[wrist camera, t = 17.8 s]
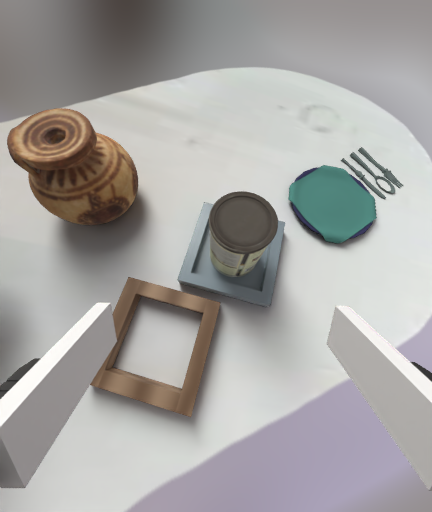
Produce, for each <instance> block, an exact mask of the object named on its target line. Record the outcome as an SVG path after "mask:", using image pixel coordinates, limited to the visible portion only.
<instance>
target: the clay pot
mask: <svg viewBox="0 0 432 512" xmlns="http://www.w3.org/2000/svg"><path fill="white" fill-rule="evenodd" d="M7 145H8V149H9V153H10V155H11V157H12V159H13V160H14V162H15V163H16V164H18V165H19V166H20V167H22V168H23V169H25V170H26V171H27V172H29V184H30V187H31V190H32V192H33V194H34V196H35V197H36V199H37V200H38V201H39V202H40V204H41V205H42V206H44V207H45V208H46V209H47V210H48V211H49V212H51V213H52V214H54V215H56V216H58V217H60V218H62V219H64V220H67V221H69V222H72V223H77V224H83V225H97V224H103V223H107V222H110V221H112V220H114V219H116V218H118V217H119V216H121V215H122V214H123V213H125V212H126V211H127V210H128V208H129V207H130V206H131V205H132V203H133V201H134V199H135V197H136V194H137V189H138V176H137V170H136V167H135V165H134V162H133V160H132V159H131V157H130V156H129V154H128V153H127V152H126V151H125V149H124V148H123V147H122V146H121V145H120V144H118V143H117V142H116V141H114V140H113V139H111V138H109V137H107V136H105V135H102V134H99V133H96V132H95V131H94V129H93V127H92V125H91V123H90V121H89V120H88V119H87V118H86V117H85V116H84V115H83V114H81V113H80V112H77V111H74V110H71V109H52V110H45V111H42V112H39V113H37V114H34V115H32V116H30V117H28V118H27V119H25V120H24V121H23V122H22V123H21V124H19V125H18V126H17V127H15V128H13V129H12V130H11V131H10V133H9V135H8V139H7Z"/></svg>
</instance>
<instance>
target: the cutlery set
mask: <svg viewBox="0 0 432 512" xmlns="http://www.w3.org/2000/svg"><path fill="white" fill-rule="evenodd" d="M358 151H359V152H360V153H362V154H363V155H364V156H365V157H366V158H367V159H368V160H369V161H370V162H371V163H373V164H374V165H375V166H376V167H377V168H379V169H380V170H382V171H383V172H382V173H384V176H385V177H386V178H387V179H388V180H390V181H391V182H392V183H393V184H395V185H396V186H397V187H398V188H400V187H402V186H403V185H402V184H401V183H400V182H399V181H398V180H397V179H396V178H395V176H394V175H393V174H392V173H391V171H388V169H385V168H383V167H382V166H381V165H379V164H378V163H377V162H376V161H375V160H374V159H373V158H372V157H371V156H370V155H369V154H368V153H367V152H366V151H365V150H364V149H363V148H362V147H361V148H360V149H359V150H358ZM350 156H351V157H353V158H354V159H355V160H356V161H358V162H359V163H360V164H361V165H362V166H363V167H364V168H365V169H366V170H367V171H368V172H369V173H371V175H372V176H373V177H374V178H375V179H376V183H377V179H382V180H384V181H386V182H387V183H388V184H389V185H390V187H391V191H387V192H391V193H394V192H395V188H394V186H393V185H392V184H391V183H390V181H388V180H387V179H385V178H384V177H380V176H376V175H375V174H374V173H373V172H372V171H371V170H370V169H369V168H368V166H367V165H366V164H365V163H364V162H363V161H362V160H361V159H360V158H359V157H358V156H357V155H356V154H355V153H354V152H353V153H351V155H350ZM341 161H344V162H345V163H346V164H347V165H348V166H350V167H351V168H352V169H353V170H354V171H355V173H356V175H357V176H359V177H360V179H362V180H363V181H364V182H365V183H366V184H367V185H368V186H369V187H370V188H371V189H372V190H373V191H374V192H375V193H376V194H377V195H378V196H380V197H381V198H384V199H385V198H386V197H385V196H384V195H383V194H382V193H381V192H380V191H379V190H377V189H376V188H375V187H374V186H373V185H372V184H371V183H370V182H369V181H368V180H367V179H366V178H364V176H365V175H362V173H361V172H360V171H357V170H356V169H355V168H354V167H353V166H351V165H350V164H349V163H348V162H347V161H346V160H345V159H344V158H343V159H342V160H341ZM397 182H398V183H399V184H398V183H397ZM397 184H398V185H399V186H400V187H399V186H398V185H397ZM377 185H378V186H379V187H380V188H381V189H383V188H382V187H381V186H380V185H379V184H378V183H377ZM401 185H402V186H401ZM383 190H384V191H386V190H385V189H383ZM289 200H290V201H291V202H292V205H293V209H294V211H295V213H296V214H297V216H298V217H299V219H300V220H301V221H302V222H303V223H304V224H305V225H306V226H307V227H309V228H310V229H311V230H312V231H314V232H316V233H318V234H320V235H322V236H323V237H324V239H325V241H328V242H333V243H341V242H344V241H346V240H347V239H351V238H355V237H357V236H359V235H361V234H363V233H365V232H366V231H367V230H368V228H369V227H370V226H371V225H372V223H373V220H374V219H376V218H377V217H376V209H375V208H376V206H375V199H374V197H373V196H372V195H371V194H370V193H369V191H368V190H367V189H366V188H365V186H364V185H363V184H362V183H361V182H360V181H359V180H357V179H356V178H355V177H353V176H352V175H350V174H348V172H347V171H346V170H344V169H341V168H337V167H331V166H326V165H323V166H321V167H320V168H313V169H310V170H307V171H305V172H303V173H302V174H301V175H300V176H299V177H297V178H296V180H295V182H294V183H292V184H291V186H290V188H289Z"/></svg>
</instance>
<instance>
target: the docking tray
mask: <svg viewBox="0 0 432 512" xmlns="http://www.w3.org/2000/svg"><path fill="white" fill-rule="evenodd" d="M212 207H213V204H209V203H205V202H204V204H203V207H202V210H201V213H200V216H199V219H198V221H197V224H196V227H195V230H194V233H193V236H192V239H191V242H190V245H189V248H188V250H187V253H186V256H185V259H184V262H183V265H182V268H181V271H180V274H179V276H178V279H177V280H178V281H179V283H181V284H185V285H188V286H192V287H195V288H199V289H203V290H206V291H210V292H214V293H217V294H221V295H224V296H228V297H232V298H235V299H239V300H242V301H246V302H250V303H253V304H257V305H261V306H264V307H268V306H270V305H271V301H272V295H273V289H274V283H275V278H276V272H277V266H278V261H279V255H280V249H281V243H282V238H283V232H284V226H285V222H282V221H278V229H277V233H276V235H275V237H274V239H273V240H272V241H271V243H270V244H269V245H268V246H267V248H266V249H265V251H264V252H263V254H262V255H261V257H260V259H259V260H258V262H257V263H256V265H255V267H254V268H253V269H252V271H250V272H249V273H248V274H246V275H244V276H240V277H229V276H226V275H224V274H222V273H220V272H219V271H218V270H216V268H215V267H214V266H213V264H212V262H211V259H210V228H209V214H210V211H211V209H212Z"/></svg>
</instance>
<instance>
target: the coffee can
mask: <svg viewBox="0 0 432 512" xmlns="http://www.w3.org/2000/svg"><path fill="white" fill-rule="evenodd" d="M209 228H210V259H211V262H212V264H213V266H214V267H215V268H216V270H218V271H219V272H220V273H222V274H224V275H226V276H229V277H240V276H244V275H246V274H248V273H249V272H250V271H252V269H253V268H254V267H255V265H256V263H257V262H258V260H259V259H260V257H261V255H262V254H263V252H264V251H265V249H266V248H267V246H268V245H269V244H270V243H271V241H272V240H273V239H274V237H275V235H276V233H277V229H278V218H277V215H276V212H275V210H274V209H273V207H272V206H271V205H270V203H269V202H268V201H266V200H265V199H264V198H262V197H260V196H259V195H256V194H254V193H250V192H233V193H229V194H227V195H225V196H223V197H221V198H220V199H219V200H217V201H216V203H215V204H214V205H213V207H212V209H211V211H210V214H209Z"/></svg>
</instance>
